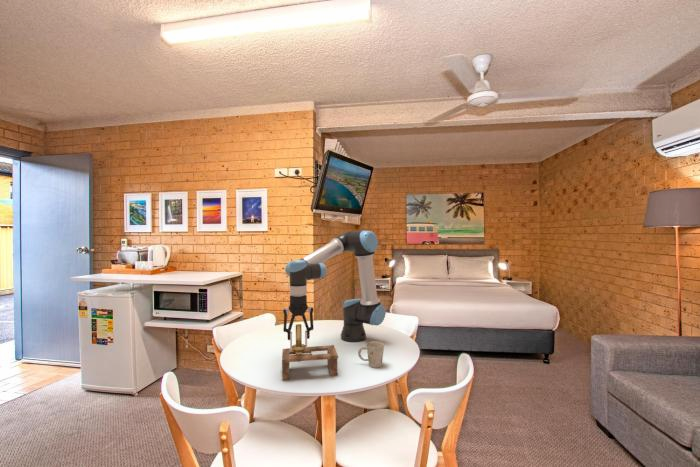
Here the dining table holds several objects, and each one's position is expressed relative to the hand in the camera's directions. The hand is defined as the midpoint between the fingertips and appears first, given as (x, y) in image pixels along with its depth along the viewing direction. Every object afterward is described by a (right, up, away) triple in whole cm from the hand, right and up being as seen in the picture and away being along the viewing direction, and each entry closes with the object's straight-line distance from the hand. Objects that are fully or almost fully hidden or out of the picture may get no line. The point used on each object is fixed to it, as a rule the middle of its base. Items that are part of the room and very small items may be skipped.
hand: (298, 346), depth 146 cm
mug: (+33, -12, +8) cm, 36 cm away
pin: (0, -6, 0) cm, 6 cm away
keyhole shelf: (+5, -12, +1) cm, 13 cm away
